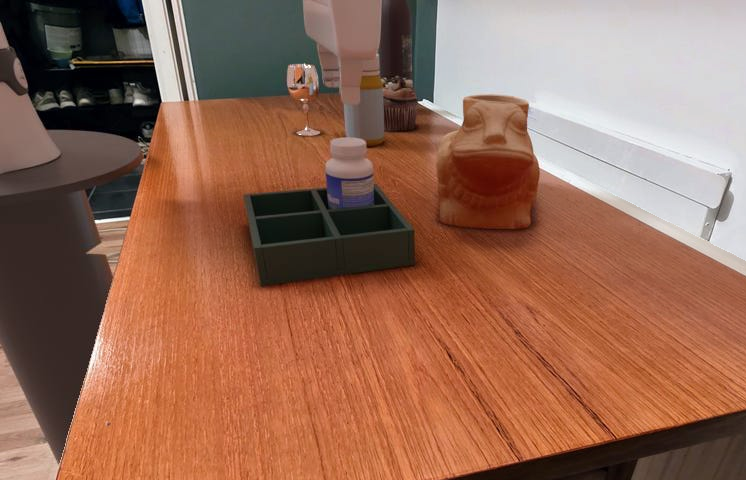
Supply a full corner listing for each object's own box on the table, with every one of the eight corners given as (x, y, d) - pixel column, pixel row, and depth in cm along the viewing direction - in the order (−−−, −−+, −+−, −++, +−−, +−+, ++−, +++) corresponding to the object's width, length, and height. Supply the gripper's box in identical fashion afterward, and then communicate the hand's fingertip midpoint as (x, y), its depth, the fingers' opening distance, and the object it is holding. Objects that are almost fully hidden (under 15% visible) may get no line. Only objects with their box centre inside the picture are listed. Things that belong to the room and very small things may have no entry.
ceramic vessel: (427, 240, 65) (428, 108, 57) (442, 174, 87) (444, 73, 79) (543, 246, 65) (560, 115, 57) (528, 179, 87) (539, 78, 80)
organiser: (260, 286, 53) (254, 248, 51) (249, 227, 65) (243, 194, 63) (415, 264, 59) (414, 229, 57) (377, 214, 71) (376, 183, 69)
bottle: (391, 144, 102) (389, 56, 94) (358, 148, 97) (353, 57, 90) (372, 135, 106) (367, 51, 98) (339, 140, 102) (332, 52, 94)
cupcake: (428, 127, 115) (428, 76, 110) (397, 134, 108) (396, 80, 103) (393, 119, 119) (392, 70, 114) (362, 126, 112) (359, 74, 107)
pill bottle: (326, 216, 67) (318, 136, 62) (369, 212, 69) (365, 134, 64) (334, 233, 63) (327, 148, 58) (380, 228, 65) (377, 146, 60)
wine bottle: (406, 114, 124) (403, -41, 109) (377, 111, 125) (370, -43, 110) (416, 109, 130) (415, -40, 115) (388, 106, 131) (384, -41, 116)
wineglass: (329, 131, 107) (323, 65, 101) (314, 137, 102) (307, 68, 96) (302, 128, 108) (295, 62, 102) (287, 134, 103) (278, 66, 97)
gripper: (282, -61, 58) (296, 78, 65) (314, -68, 42) (327, 115, 50) (342, -55, 61) (349, 78, 68) (393, -60, 45) (395, 114, 52)
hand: (340, 94), depth 59 cm, fingers open, 8 cm apart
